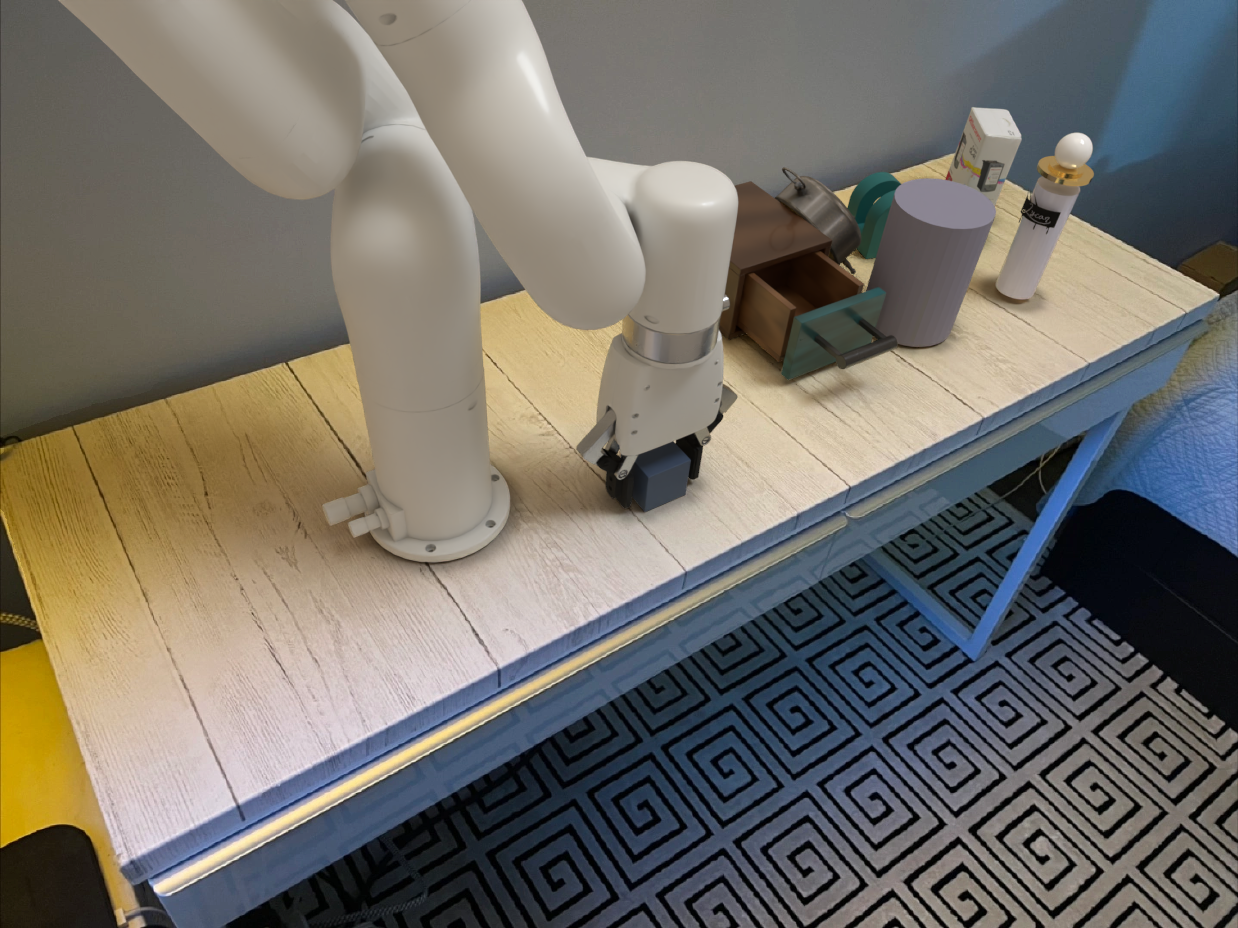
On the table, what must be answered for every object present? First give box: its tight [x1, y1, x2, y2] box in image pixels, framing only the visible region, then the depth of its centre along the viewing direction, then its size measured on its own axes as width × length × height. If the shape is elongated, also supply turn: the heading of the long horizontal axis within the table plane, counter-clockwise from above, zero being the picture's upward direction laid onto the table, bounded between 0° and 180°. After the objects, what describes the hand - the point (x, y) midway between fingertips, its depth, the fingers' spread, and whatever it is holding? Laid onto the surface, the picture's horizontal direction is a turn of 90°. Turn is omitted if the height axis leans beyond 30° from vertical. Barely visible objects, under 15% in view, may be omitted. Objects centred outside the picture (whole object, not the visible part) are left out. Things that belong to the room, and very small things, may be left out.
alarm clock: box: [774, 166, 861, 275], centre depth 106 cm, size 11×5×16 cm
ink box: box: [944, 106, 1022, 207], centre depth 121 cm, size 9×5×12 cm, turn 177°
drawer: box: [736, 250, 899, 381], centre depth 97 cm, size 18×11×7 cm, turn 32°
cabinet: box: [719, 180, 832, 341], centre depth 104 cm, size 15×13×9 cm
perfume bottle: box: [994, 132, 1095, 300], centre depth 103 cm, size 6×6×20 cm
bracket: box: [846, 171, 902, 260], centre depth 116 cm, size 18×7×8 cm, turn 107°
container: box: [865, 177, 997, 348], centre depth 100 cm, size 10×10×15 cm
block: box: [620, 441, 691, 513], centre depth 83 cm, size 4×4×4 cm
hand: (652, 482), depth 84 cm, fingers open, 6 cm apart
